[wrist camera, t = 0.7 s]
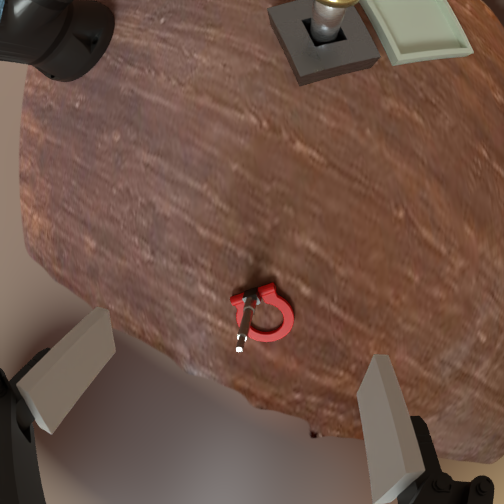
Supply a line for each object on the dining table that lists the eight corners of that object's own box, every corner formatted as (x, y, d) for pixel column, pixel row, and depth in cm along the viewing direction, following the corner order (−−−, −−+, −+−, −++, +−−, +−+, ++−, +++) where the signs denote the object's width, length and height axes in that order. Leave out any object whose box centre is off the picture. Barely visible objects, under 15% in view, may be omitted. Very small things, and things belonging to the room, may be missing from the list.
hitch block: (270, 24, 30) (267, 8, 25) (339, 7, 28) (344, -10, 23) (299, 86, 33) (300, 76, 28) (370, 68, 30) (380, 56, 25)
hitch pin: (296, 33, 30) (295, -33, 15) (330, 25, 29) (347, -41, 14) (310, 63, 31) (320, 6, 16) (345, 54, 30) (374, -2, 15)
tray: (356, -3, 27) (359, -11, 24) (431, -8, 23) (437, -14, 21) (392, 65, 30) (398, 60, 27) (465, 56, 26) (473, 52, 24)
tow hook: (302, 328, 44) (278, 277, 41) (302, 390, 32) (273, 333, 29) (251, 343, 46) (225, 296, 43) (238, 404, 34) (202, 352, 31)
